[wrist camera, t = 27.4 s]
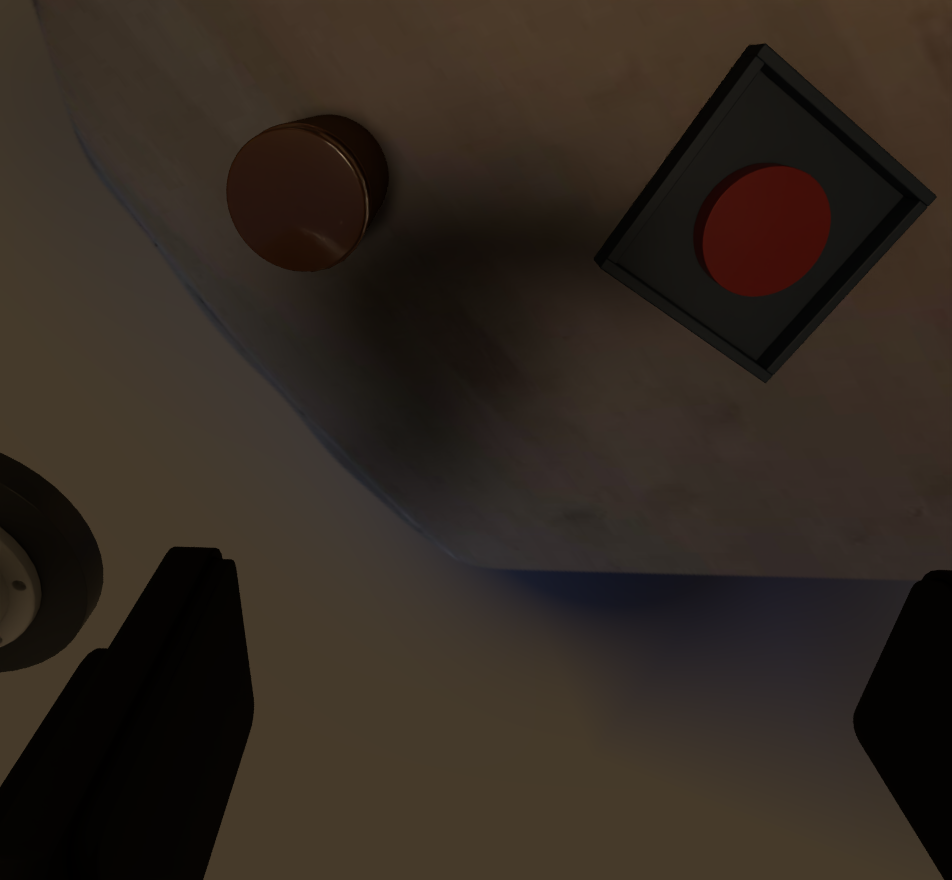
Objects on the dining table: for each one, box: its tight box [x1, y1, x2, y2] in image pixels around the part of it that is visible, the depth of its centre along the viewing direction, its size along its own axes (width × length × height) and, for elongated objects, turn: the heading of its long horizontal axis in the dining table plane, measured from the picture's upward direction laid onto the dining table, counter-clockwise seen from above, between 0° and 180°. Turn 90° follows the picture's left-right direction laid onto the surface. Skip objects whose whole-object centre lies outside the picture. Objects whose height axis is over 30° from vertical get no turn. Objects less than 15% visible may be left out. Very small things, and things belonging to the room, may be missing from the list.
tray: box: [594, 44, 936, 383], centre depth 36 cm, size 12×12×2 cm
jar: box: [226, 114, 389, 272], centre depth 31 cm, size 6×6×9 cm
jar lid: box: [693, 163, 831, 297], centre depth 35 cm, size 7×7×2 cm
